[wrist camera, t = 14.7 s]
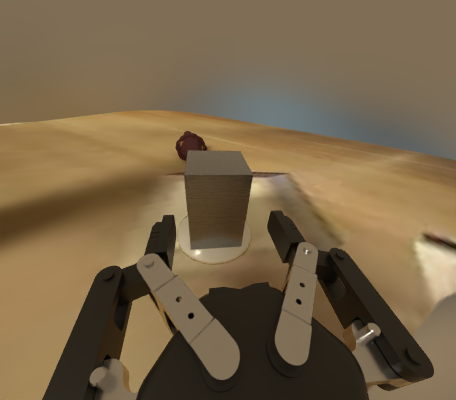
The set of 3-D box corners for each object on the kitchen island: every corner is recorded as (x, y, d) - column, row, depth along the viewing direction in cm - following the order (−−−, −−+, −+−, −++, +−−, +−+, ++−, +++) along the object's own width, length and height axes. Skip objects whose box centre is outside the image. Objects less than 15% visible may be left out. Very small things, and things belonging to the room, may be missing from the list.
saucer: (161, 235, 23) (161, 232, 23) (212, 202, 30) (212, 200, 30) (218, 281, 19) (219, 278, 18) (263, 230, 25) (264, 227, 25)
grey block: (190, 249, 21) (184, 174, 15) (192, 216, 26) (187, 150, 20) (241, 246, 22) (252, 174, 16) (233, 214, 27) (240, 151, 21)
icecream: (218, 143, 37) (201, 131, 49) (182, 135, 33) (173, 124, 45) (210, 174, 40) (196, 156, 52) (177, 169, 36) (170, 151, 48)
